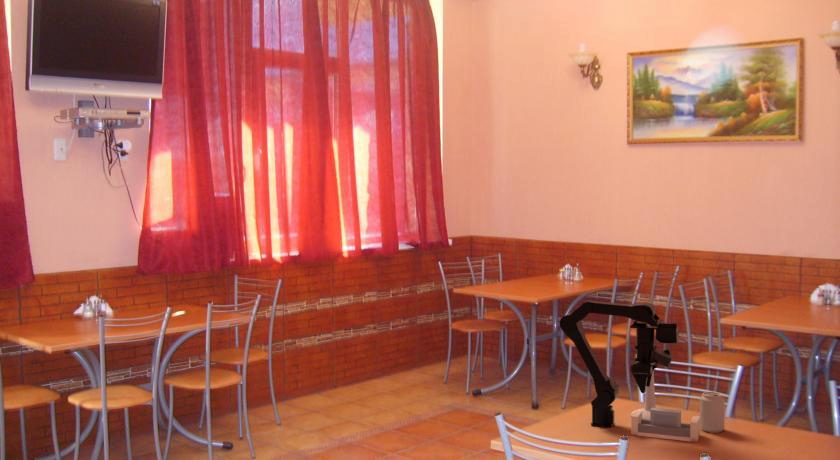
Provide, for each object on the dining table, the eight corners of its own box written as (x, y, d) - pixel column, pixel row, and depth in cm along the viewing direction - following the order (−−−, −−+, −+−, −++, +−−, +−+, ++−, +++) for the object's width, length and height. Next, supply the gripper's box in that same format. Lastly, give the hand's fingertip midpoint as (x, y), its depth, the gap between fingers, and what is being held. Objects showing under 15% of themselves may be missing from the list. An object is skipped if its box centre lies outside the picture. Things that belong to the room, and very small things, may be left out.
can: (726, 434, 265) (726, 396, 264) (701, 433, 266) (701, 395, 265) (722, 427, 272) (722, 391, 271) (698, 426, 273) (698, 390, 273)
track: (631, 434, 265) (631, 416, 265) (636, 428, 272) (636, 409, 272) (697, 442, 257) (697, 422, 256) (700, 434, 264) (700, 416, 264)
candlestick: (636, 422, 279) (636, 333, 277) (626, 412, 291) (626, 327, 290) (674, 422, 279) (674, 333, 277) (662, 411, 292) (663, 326, 290)
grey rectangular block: (650, 431, 265) (650, 409, 265) (651, 428, 268) (651, 407, 267) (679, 434, 261) (679, 412, 261) (681, 432, 264) (681, 410, 264)
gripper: (666, 349, 258) (666, 398, 259) (675, 338, 275) (675, 385, 275) (630, 346, 262) (630, 395, 263) (640, 336, 279) (640, 382, 280)
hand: (645, 389), depth 270 cm, fingers open, 9 cm apart
